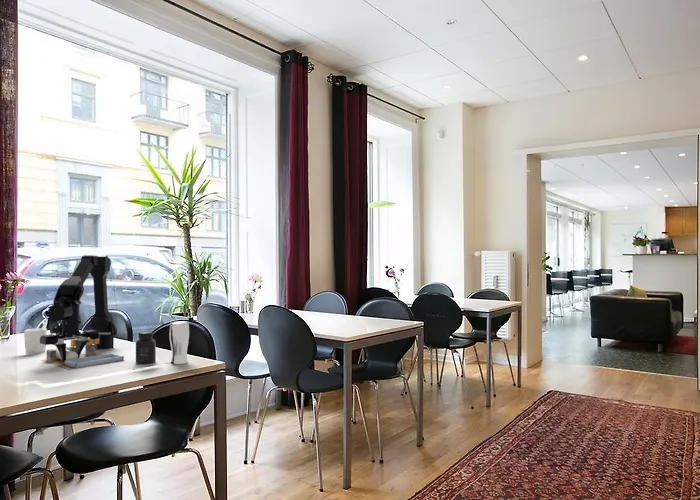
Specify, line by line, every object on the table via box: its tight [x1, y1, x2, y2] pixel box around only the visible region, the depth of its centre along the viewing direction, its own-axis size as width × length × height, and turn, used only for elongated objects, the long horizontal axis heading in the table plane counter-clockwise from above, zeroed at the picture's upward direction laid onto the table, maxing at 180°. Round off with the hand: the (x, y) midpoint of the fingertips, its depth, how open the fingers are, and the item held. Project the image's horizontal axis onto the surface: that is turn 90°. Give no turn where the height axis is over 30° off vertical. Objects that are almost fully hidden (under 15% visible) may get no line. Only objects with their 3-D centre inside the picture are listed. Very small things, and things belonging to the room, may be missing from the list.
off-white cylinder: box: [54, 347, 78, 360], centre depth 195 cm, size 12×4×4 cm, turn 50°
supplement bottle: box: [135, 331, 157, 368], centre depth 192 cm, size 7×7×12 cm
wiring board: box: [40, 344, 126, 371], centre depth 196 cm, size 20×24×5 cm
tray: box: [64, 353, 125, 369], centre depth 192 cm, size 17×9×2 cm, turn 140°
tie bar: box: [70, 337, 99, 347], centre depth 203 cm, size 10×3×2 cm, turn 140°
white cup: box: [23, 327, 48, 356], centre depth 211 cm, size 8×8×10 cm
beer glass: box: [169, 320, 190, 366], centre depth 196 cm, size 7×7×15 cm
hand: (70, 360), depth 192 cm, fingers closed on off-white cylinder, 4 cm apart
